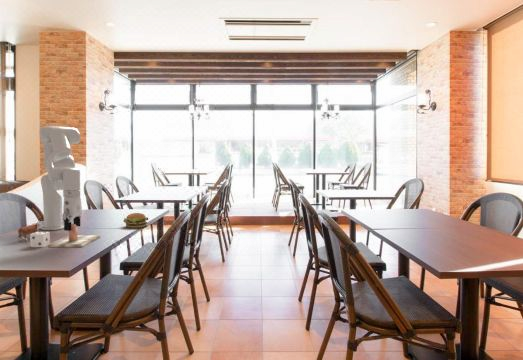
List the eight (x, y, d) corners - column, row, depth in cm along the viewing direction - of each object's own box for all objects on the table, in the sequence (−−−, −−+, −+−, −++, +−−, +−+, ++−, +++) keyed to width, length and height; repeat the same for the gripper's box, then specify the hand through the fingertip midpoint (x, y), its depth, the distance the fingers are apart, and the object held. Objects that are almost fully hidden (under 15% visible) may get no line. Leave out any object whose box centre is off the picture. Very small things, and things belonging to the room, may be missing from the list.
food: (118, 227, 238) (118, 213, 237) (135, 223, 250) (135, 210, 249) (135, 229, 231) (135, 215, 231) (152, 225, 244) (152, 212, 243)
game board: (48, 246, 188) (48, 244, 188) (69, 237, 209) (69, 235, 209) (82, 247, 188) (82, 244, 188) (100, 237, 209) (100, 235, 209)
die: (30, 247, 187) (29, 234, 187) (37, 244, 193) (37, 231, 193) (43, 247, 187) (43, 234, 187) (50, 244, 193) (49, 231, 193)
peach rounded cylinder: (67, 241, 194) (66, 224, 193) (71, 239, 198) (70, 223, 197) (75, 241, 194) (75, 224, 193) (79, 239, 198) (78, 223, 197)
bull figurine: (44, 237, 209) (44, 221, 208) (21, 242, 196) (21, 226, 196) (38, 236, 210) (37, 221, 210) (15, 242, 198) (14, 225, 197)
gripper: (71, 196, 186) (72, 232, 187) (87, 191, 203) (87, 224, 205) (55, 195, 186) (55, 232, 187) (72, 191, 203) (72, 224, 204)
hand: (72, 228), depth 196 cm, fingers open, 9 cm apart
